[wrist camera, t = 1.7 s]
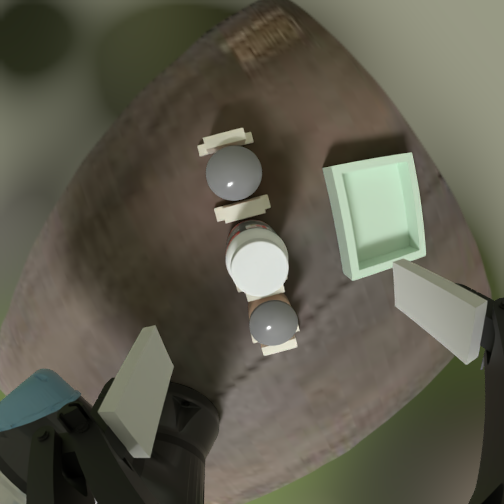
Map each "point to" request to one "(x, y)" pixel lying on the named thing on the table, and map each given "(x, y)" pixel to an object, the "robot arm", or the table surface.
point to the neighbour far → (272, 320)
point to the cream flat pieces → (243, 211)
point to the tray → (376, 213)
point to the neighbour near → (234, 173)
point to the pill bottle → (256, 258)
